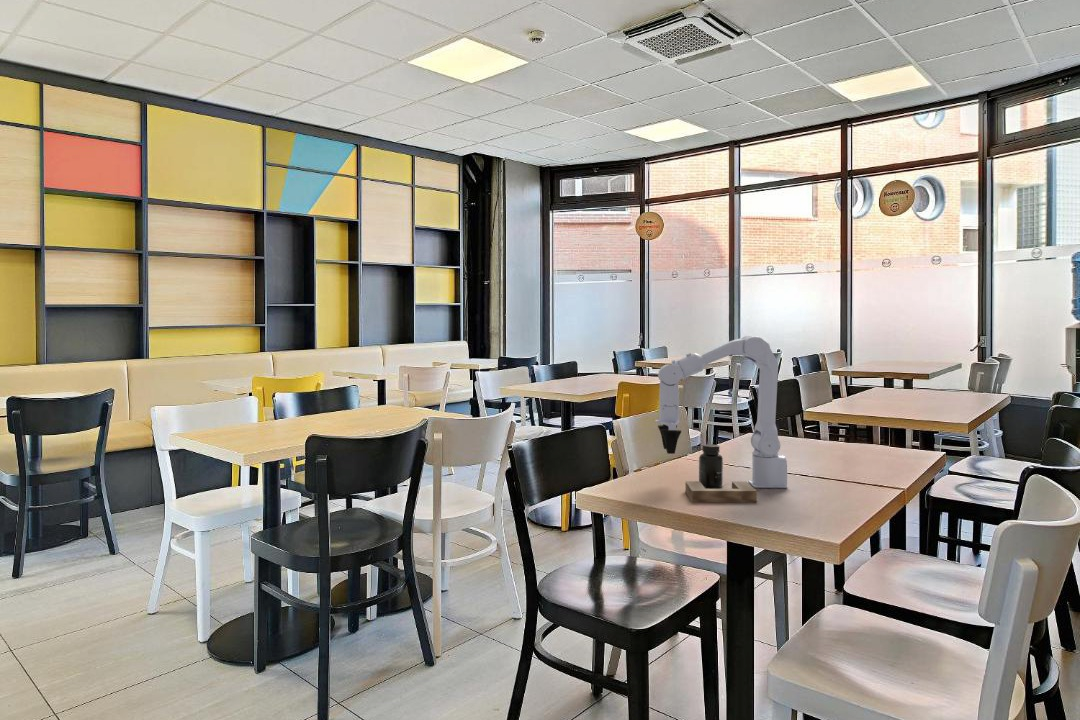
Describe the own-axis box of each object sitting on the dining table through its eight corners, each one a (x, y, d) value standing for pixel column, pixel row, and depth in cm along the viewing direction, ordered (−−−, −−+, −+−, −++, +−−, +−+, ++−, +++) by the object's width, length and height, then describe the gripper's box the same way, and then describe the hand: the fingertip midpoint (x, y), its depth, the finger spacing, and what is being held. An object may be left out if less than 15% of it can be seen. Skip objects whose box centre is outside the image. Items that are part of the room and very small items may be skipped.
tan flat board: (746, 492, 197) (746, 481, 197) (756, 502, 186) (756, 491, 185) (685, 491, 198) (685, 481, 198) (692, 501, 187) (692, 490, 186)
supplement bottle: (723, 489, 201) (723, 447, 200) (699, 488, 202) (699, 447, 202) (722, 483, 208) (722, 443, 207) (698, 483, 209) (698, 443, 208)
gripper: (652, 402, 213) (652, 446, 214) (658, 408, 199) (658, 455, 199) (676, 402, 213) (676, 446, 213) (683, 408, 198) (683, 455, 199)
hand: (669, 451), depth 206 cm, fingers open, 7 cm apart
